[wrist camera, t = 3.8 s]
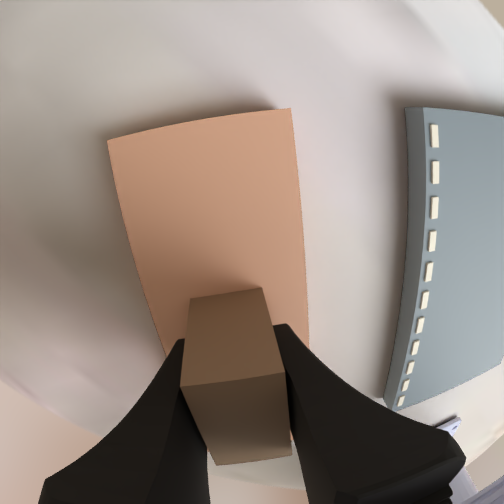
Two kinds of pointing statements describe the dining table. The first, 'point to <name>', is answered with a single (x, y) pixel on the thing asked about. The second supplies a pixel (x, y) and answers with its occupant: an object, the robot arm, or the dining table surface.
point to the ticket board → (450, 255)
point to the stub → (221, 266)
